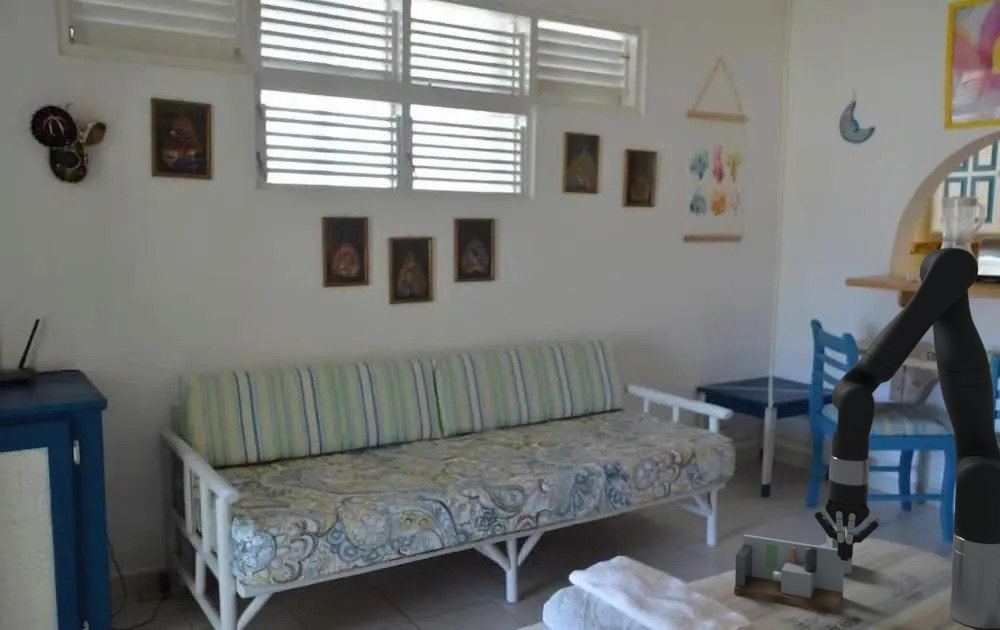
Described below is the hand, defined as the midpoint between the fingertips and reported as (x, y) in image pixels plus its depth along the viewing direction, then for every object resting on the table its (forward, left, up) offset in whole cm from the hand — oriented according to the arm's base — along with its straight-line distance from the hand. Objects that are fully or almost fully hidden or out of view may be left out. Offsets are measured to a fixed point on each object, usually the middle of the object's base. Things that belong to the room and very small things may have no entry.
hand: (844, 559), depth 179 cm
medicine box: (+4, -22, -11) cm, 24 cm away
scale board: (+11, -4, -9) cm, 15 cm away
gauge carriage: (+10, 0, -9) cm, 13 cm away
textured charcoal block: (+21, 0, -9) cm, 22 cm away
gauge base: (+11, 0, -10) cm, 15 cm away
